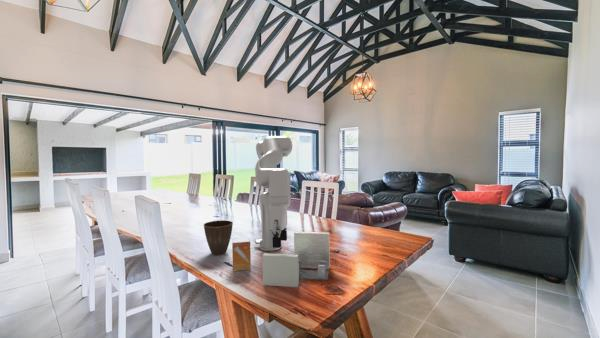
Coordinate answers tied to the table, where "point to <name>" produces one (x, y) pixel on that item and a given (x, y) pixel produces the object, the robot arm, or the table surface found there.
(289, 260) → the door panel
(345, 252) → the table surface
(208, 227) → the plant pot
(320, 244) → the white boxy piece
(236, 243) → the small box
